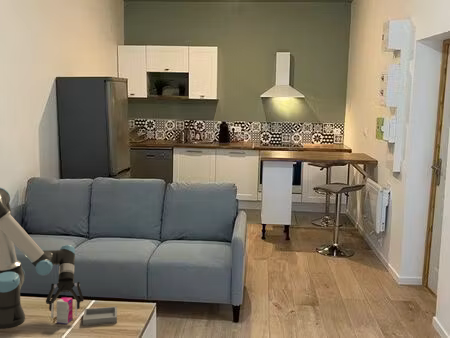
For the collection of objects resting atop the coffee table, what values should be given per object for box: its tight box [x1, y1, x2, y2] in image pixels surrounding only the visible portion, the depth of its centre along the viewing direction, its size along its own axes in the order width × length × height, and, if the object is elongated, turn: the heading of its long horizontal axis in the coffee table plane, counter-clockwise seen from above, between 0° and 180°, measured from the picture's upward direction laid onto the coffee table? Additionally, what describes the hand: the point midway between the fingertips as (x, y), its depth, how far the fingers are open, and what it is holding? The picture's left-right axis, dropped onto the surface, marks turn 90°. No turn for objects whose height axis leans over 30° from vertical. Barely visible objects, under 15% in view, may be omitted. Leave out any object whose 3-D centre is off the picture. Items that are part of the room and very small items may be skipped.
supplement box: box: [55, 296, 74, 325], centre depth 237 cm, size 6×6×12 cm
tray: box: [82, 305, 118, 327], centre depth 241 cm, size 16×13×3 cm
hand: (64, 316), depth 234 cm, fingers open, 10 cm apart
